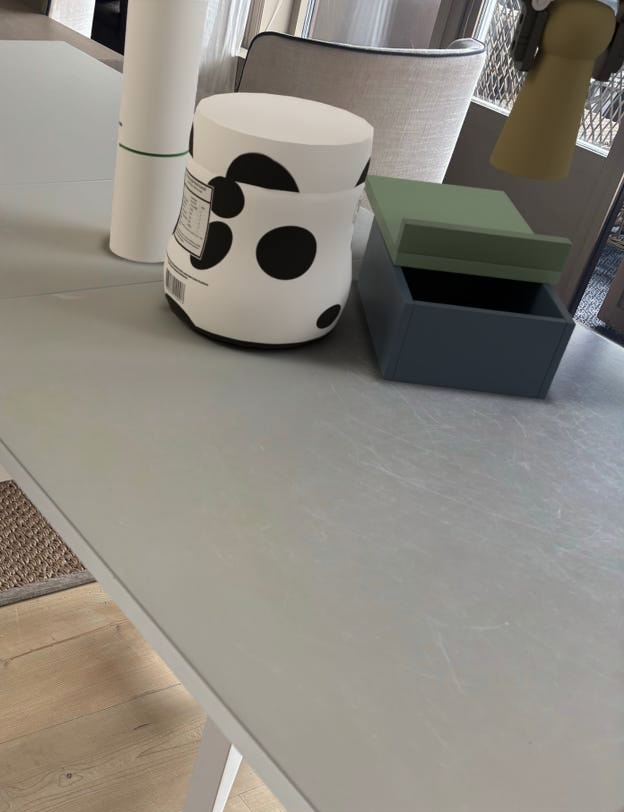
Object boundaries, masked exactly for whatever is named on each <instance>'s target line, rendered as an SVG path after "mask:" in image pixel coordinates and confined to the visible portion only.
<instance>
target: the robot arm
mask: <svg viewBox="0 0 624 812" xmlns="http://www.w3.org/2000/svg"><path fill="white" fill-rule="evenodd" d="M519 1H520V3H521V4H520V5H521V9H520V13H519V15H518V20H517V22H516V25H515V29H514V33H513V36H512V39H511V42H510V46H509V57H510V58H511V59H512V60H513V68H514V69H515V70H516V71H517V72H521V73H528V72H529V71H530V69H531V66H532V63H533V60H534V57H535V55H536V53H537V50H538V44H539V41H540V38H541V35H542V32H543V28H544V25H545V22H546V19H547V16H548V13H547V12H546V11H545V8H546V7H547V6H548V5H549V3H550V2H551V1H552V0H519ZM615 17H616V25H615V31H614V34H613V37H612V39H611V41H610V43H609V45H608V46H607V48H606V50H605V51H604V52H603V53H602V54H600V55H599V56H598V57H597V58H596V60H595V64H594V68H593V73H592V77H591V79H593V80H595V81H596V82H601V83H608V82H609V81H610V79H611V77H612V75H613V74H614V75H617V74H618V73H619V71H620V70H621V69H622V67H623V65H624V0H616V13H615Z"/></svg>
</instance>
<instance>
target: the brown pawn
mask: <svg viewBox="0 0 624 812" xmlns="http://www.w3.org/2000/svg"><path fill="white" fill-rule="evenodd" d="M545 11H546V12H547V13H548V16H547V19H546V22H545V25H544V28H543V32H542V35H541V38H540V41H539V44H538V47H537V50H536V53H535V57H534V60H533V63H532V66H531V69H530V71H529V72H526V76H525V78H524V80H523V83H522V85H521V87H520V89H519V91H518V93H517V96H516V98H515V100H514V103H513V104H512V107H511V110H510V111H509V114H508V116H507V119H506V121H505V123H504V125H503V128H502V130H501V132H500V135H499V137H498V139H497V141H496V144H495V146H494V148H493V150H492V152H491V154H490V157H489V160H488V162H489V164H490V165H491V166H492V167H494V168H496V169H497V170H500V171H502V172H504V173H507V174H510V175H513V176H517V177H521V178H526V179H530V180H538V181H561V180H565V179H567V178H568V177H569V174H570V170H571V165H572V161H573V157H574V154H575V149H576V148H575V147H576V145H577V140H578V136H579V131H580V128H581V123H582V119H583V116H584V111H585V106H586V102H587V98H588V93H589V89H590V84H591V80H592V73H593V68H594V64H595V60H596V58H597V57H598V56H599V55H600V54H602V53H603V52H604V51H605V50H606V48H607V46H608V45H609V43H610V41H611V39H612V37H613V34H614V31H615V25H616V17H615V16H616V11H615V10H614V8H612V6H610V5H609V4H606V3H605V2H604V1H600V0H551V2H550V3H549V5H548V6H547V7H546V8H545Z"/></svg>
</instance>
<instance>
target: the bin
mask: <svg viewBox="0 0 624 812" xmlns="http://www.w3.org/2000/svg"><path fill="white" fill-rule="evenodd" d="M356 285H357V289H358V293H359V297H360V299H361V300H360V301H361V304H362V308H363V311H364V315H365V319H366V322H367V326H368V329H369V330H368V331H369V334H370V337H371V340H372V344H373V349H374V351H375V356H376V359H377V363H378V366H379V370H380V373H381V377H382V380H383V381H390V382H398V383H406V384H416V385H423V386H430V387H440V388H449V389H456V390H463V391H473V392H480V393H487V394H488V393H489V394H497V395H505V396H513V397H522V398H529V399H530V398H531V399H539V400H545V399H546V397H547V395H548V393H549V391H550V388H551V385H552V383H553V381H554V379H555V377H556V374H557V371H558V369H559V367H560V364H561V361H562V359H563V357H564V355H565V352H566V350H567V347H568V345H569V343H570V340H571V338H572V335H573V333H574V330H575V328H576V326H577V324H576V321H575V320H574V318H573V317H572V315H571V314H570V312H569V311H568V309H567V308H566V306H565V305H564V303H563V302H562V300H561V298H560V297H559V295H558V294H557V292H556V290H555V289H554V288H553V286H552V284H545V283H536V282H528V281H520V280H511V279H503V278H495V277H487V276H478V275H470V274H462V273H453V272H445V271H437V270H428V269H420V268H412V267H404V266H395V265H394V264H393V262H392V259H391V257H390V254H389V252H388V249H387V246H386V244H385V241H384V239H383V236H382V233H381V231H380V228H379V226H378V223H377V221H376V218H375V215H374V214H373V218H372V222H371V226H370V230H369V234H368V239H367V243H366V246H365V249H364V255H363V258H362V262H361V266H360V271H359V273H358V278H357V282H356Z"/></svg>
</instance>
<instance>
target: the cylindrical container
mask: <svg viewBox="0 0 624 812" xmlns="http://www.w3.org/2000/svg"><path fill="white" fill-rule="evenodd" d="M208 1H209V0H128V1H127V12H126V13H127V14H126V25H125V28H126V29H125V38H124V39H125V41H124V53H123V65H122V76H121V77H122V79H121V89H120V90H121V91H120V102H119V114H118V115H119V117H118V120H119V121H118V130H117V144H116V157H115V169H114V180H113V181H114V182H113V195H112V206H111V208H112V209H111V222H110V223H111V224H110V233H109V249H110V251H111V252H112V253H114V254H115V255H117V256H118V257H121V258H123V259H126V260H129V261H133V262H138V263H147V264H148V263H152V264H153V263H154V264H156V263H164V260H165V254H166V250H167V246H168V243H169V241H170V238H171V235H172V233H173V230H174V228H175V225H176V223H177V220H178V217H179V214H180V209H181V205H182V199H183V190H184V179H185V168H186V159H187V156H188V153H189V138H190V131H191V127H192V122H193V118H194V114H195V108H196V98H197V91H198V90H197V89H198V83H199V74H200V66H201V58H202V48H203V42H204V33H205V25H206V19H207V18H206V17H207V11H208V10H207V8H208Z"/></svg>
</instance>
